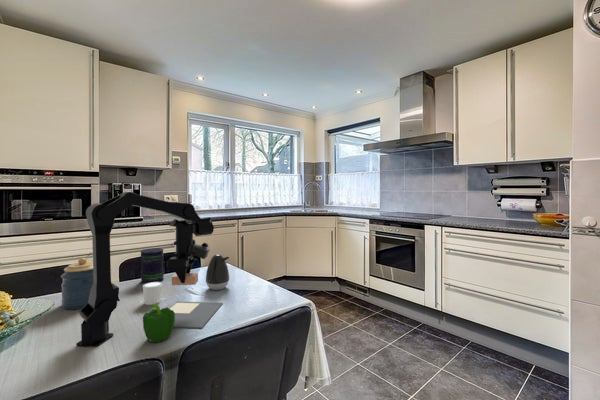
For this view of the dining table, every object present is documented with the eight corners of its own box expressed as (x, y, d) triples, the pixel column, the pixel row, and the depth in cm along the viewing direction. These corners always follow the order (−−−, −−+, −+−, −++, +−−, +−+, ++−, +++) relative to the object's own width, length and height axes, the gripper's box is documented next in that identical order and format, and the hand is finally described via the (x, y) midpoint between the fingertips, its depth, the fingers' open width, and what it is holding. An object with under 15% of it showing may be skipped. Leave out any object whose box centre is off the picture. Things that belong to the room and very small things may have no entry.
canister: (94, 294, 120) (93, 253, 119) (110, 301, 113) (109, 256, 112) (55, 305, 109) (54, 259, 108) (70, 313, 102) (69, 264, 101)
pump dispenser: (224, 292, 122) (223, 257, 122) (201, 291, 124) (201, 256, 123) (233, 285, 132) (233, 252, 132) (212, 284, 134) (211, 251, 133)
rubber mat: (201, 328, 90) (201, 326, 90) (147, 326, 92) (147, 325, 92) (222, 303, 110) (222, 302, 110) (177, 302, 112) (177, 301, 112)
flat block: (171, 285, 101) (171, 276, 101) (175, 281, 105) (175, 273, 105) (195, 284, 102) (194, 276, 102) (198, 281, 106) (197, 273, 106)
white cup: (154, 306, 108) (154, 287, 108) (138, 304, 110) (138, 286, 109) (166, 299, 115) (166, 282, 115) (151, 298, 116) (151, 281, 116)
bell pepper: (179, 337, 85) (179, 304, 85) (150, 349, 79) (149, 313, 79) (167, 328, 91) (166, 297, 90) (139, 338, 84) (138, 305, 84)
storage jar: (143, 278, 141) (143, 248, 141) (165, 277, 144) (164, 247, 144) (138, 285, 132) (138, 253, 131) (162, 283, 135) (161, 251, 134)
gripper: (200, 242, 94) (201, 289, 95) (213, 233, 113) (213, 272, 113) (165, 242, 93) (166, 290, 94) (183, 234, 112) (184, 273, 112)
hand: (185, 280), depth 103 cm, fingers closed on flat block, 4 cm apart
